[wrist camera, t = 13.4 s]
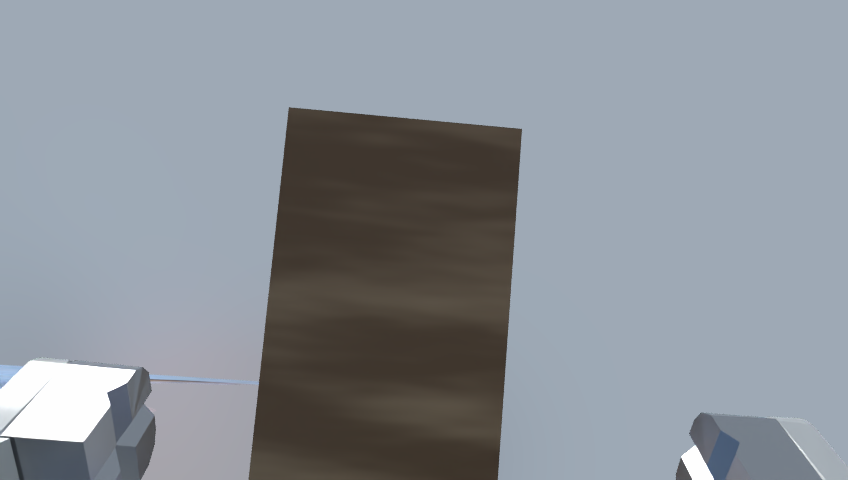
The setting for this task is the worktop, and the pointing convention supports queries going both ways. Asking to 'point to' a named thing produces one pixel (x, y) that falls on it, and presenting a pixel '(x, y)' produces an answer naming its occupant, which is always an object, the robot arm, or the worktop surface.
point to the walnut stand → (387, 300)
